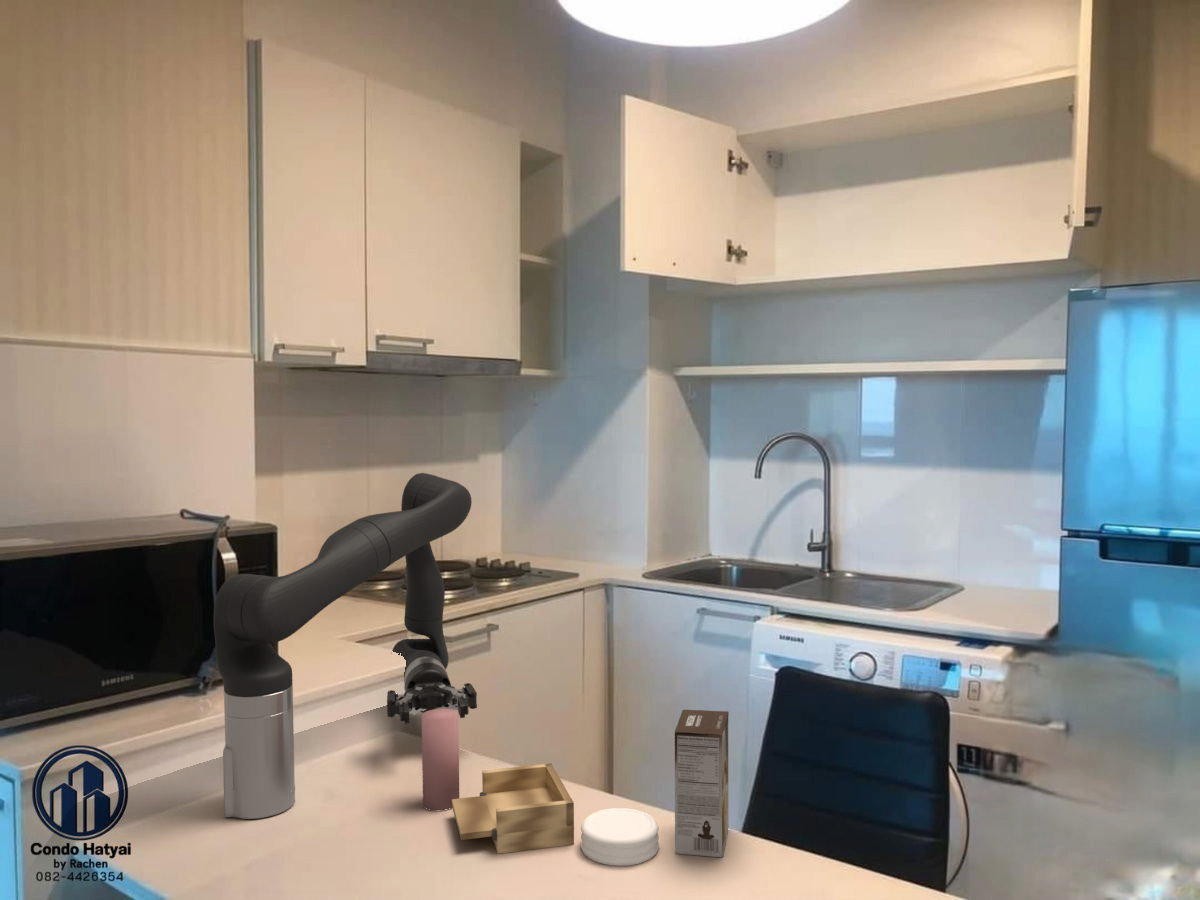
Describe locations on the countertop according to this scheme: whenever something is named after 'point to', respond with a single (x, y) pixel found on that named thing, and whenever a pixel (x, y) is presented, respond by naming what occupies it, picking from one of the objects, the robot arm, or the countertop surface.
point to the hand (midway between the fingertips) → (435, 714)
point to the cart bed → (518, 809)
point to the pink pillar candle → (440, 758)
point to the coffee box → (701, 783)
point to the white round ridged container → (619, 836)
